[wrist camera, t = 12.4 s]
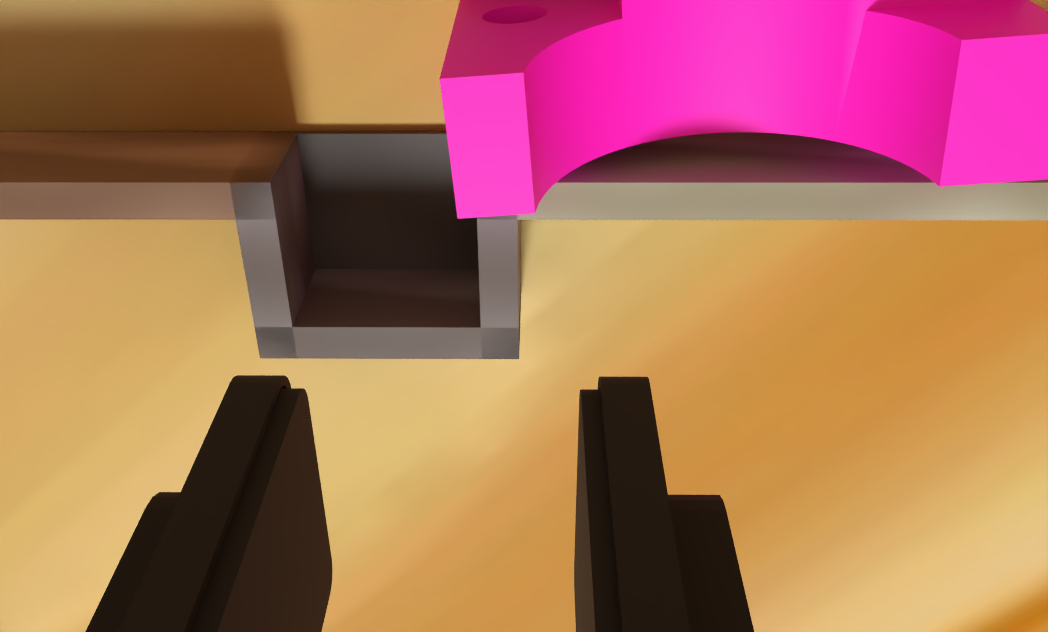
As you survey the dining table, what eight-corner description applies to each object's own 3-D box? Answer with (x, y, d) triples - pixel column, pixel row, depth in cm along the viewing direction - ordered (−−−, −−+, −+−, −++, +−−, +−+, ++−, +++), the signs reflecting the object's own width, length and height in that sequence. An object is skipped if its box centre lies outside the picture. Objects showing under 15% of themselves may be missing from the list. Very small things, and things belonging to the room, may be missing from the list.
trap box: (1085, 296, 35) (1143, 360, 32) (-81, 294, 36) (-146, 357, 33) (1342, -466, 24) (1475, -493, 21) (-363, -450, 25) (-506, -473, 21)
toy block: (976, -132, 28) (1103, -83, 22) (945, 81, 32) (1047, 179, 25) (450, -89, 29) (426, -29, 23) (473, 115, 32) (457, 218, 26)
